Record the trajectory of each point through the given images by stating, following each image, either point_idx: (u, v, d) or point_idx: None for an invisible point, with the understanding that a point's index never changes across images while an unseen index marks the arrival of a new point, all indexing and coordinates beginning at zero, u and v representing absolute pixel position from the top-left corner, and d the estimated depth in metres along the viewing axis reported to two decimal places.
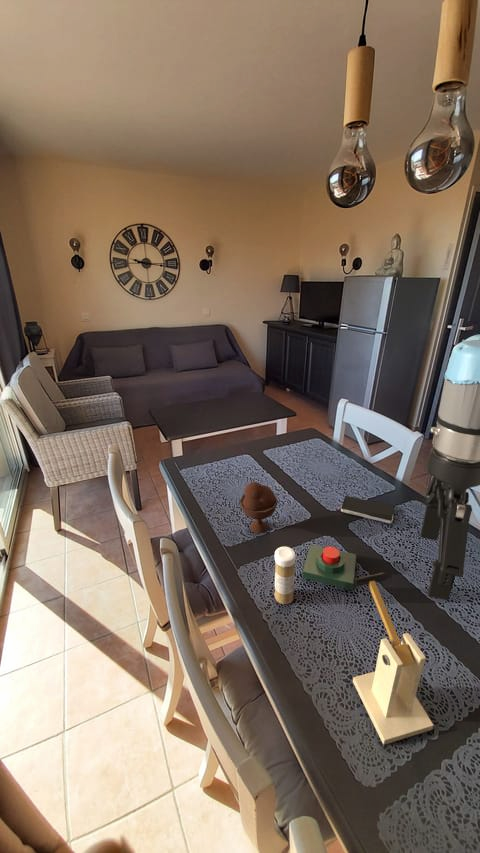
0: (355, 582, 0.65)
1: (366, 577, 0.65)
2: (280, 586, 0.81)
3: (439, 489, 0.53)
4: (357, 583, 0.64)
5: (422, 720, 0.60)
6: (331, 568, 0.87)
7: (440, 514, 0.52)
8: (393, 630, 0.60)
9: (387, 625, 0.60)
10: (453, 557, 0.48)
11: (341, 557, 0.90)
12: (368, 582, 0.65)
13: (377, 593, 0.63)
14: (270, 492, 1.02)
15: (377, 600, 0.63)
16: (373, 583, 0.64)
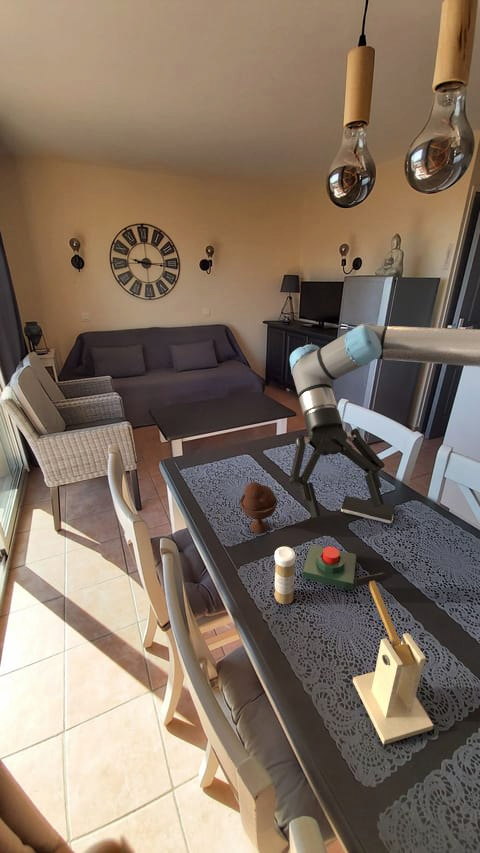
0: (355, 582, 0.65)
1: (366, 577, 0.65)
2: (280, 586, 0.81)
3: None
4: (357, 583, 0.64)
5: (422, 720, 0.60)
6: (331, 568, 0.87)
7: None
8: (393, 630, 0.60)
9: (387, 625, 0.60)
10: (292, 469, 0.72)
11: (341, 557, 0.90)
12: (368, 582, 0.65)
13: (377, 593, 0.63)
14: (270, 492, 1.02)
15: (377, 600, 0.63)
16: (373, 583, 0.64)
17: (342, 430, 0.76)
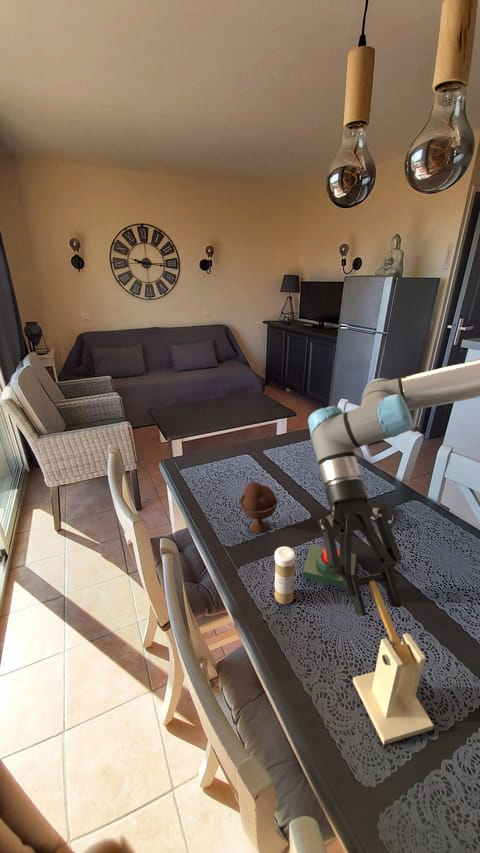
0: None
1: (366, 577, 0.65)
2: (280, 586, 0.81)
3: None
4: None
5: (422, 720, 0.60)
6: None
7: (339, 534, 0.69)
8: (393, 630, 0.60)
9: (387, 625, 0.60)
10: (329, 559, 0.66)
11: None
12: (368, 582, 0.65)
13: (377, 593, 0.63)
14: (270, 492, 1.02)
15: (377, 600, 0.63)
16: (373, 583, 0.64)
17: (367, 503, 0.69)
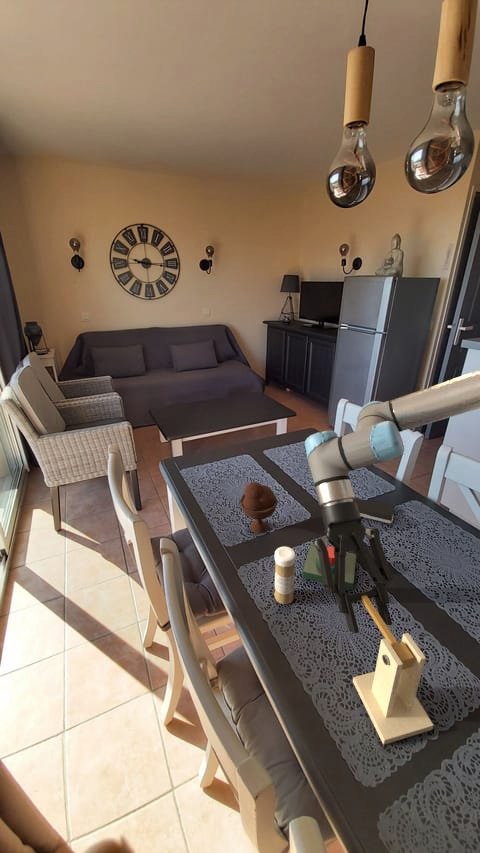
0: None
1: (358, 593, 0.69)
2: (280, 586, 0.81)
3: None
4: (350, 598, 0.68)
5: (422, 720, 0.60)
6: (331, 568, 0.87)
7: (334, 554, 0.73)
8: (389, 633, 0.61)
9: (383, 629, 0.62)
10: (324, 578, 0.69)
11: None
12: (360, 597, 0.68)
13: (370, 605, 0.66)
14: (270, 492, 1.02)
15: (371, 610, 0.65)
16: (365, 597, 0.68)
17: (360, 525, 0.73)
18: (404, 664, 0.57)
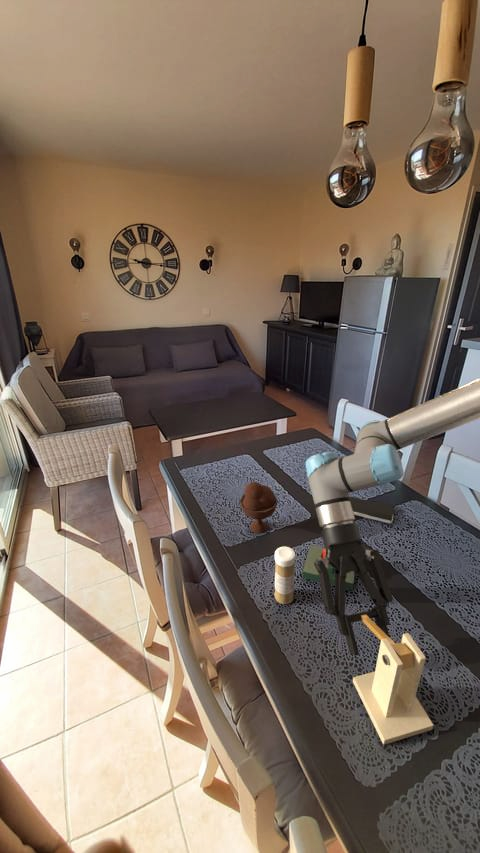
0: None
1: (357, 613, 0.70)
2: (280, 586, 0.81)
3: None
4: None
5: (422, 720, 0.60)
6: (331, 568, 0.87)
7: (334, 575, 0.74)
8: (389, 639, 0.62)
9: (382, 637, 0.62)
10: (325, 600, 0.70)
11: None
12: (360, 616, 0.69)
13: (369, 620, 0.67)
14: (270, 492, 1.02)
15: (370, 624, 0.66)
16: (364, 615, 0.69)
17: (360, 546, 0.74)
18: (404, 661, 0.57)
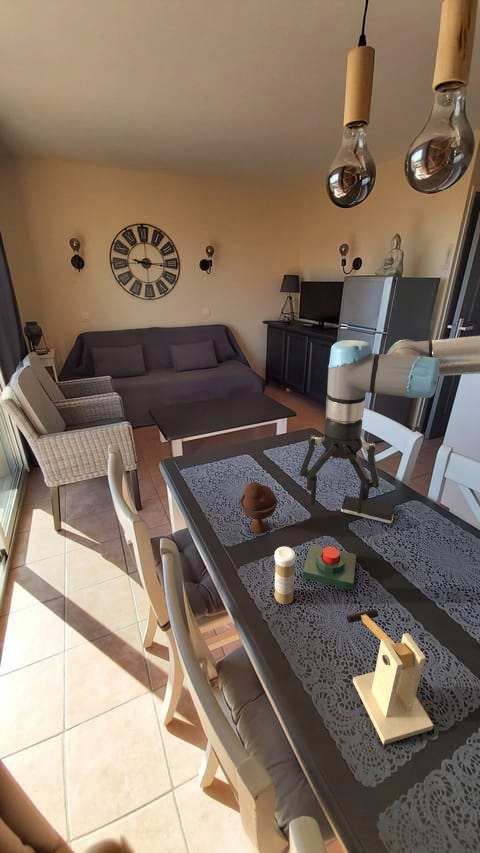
0: (348, 618, 0.69)
1: (357, 613, 0.70)
2: (280, 586, 0.81)
3: None
4: (349, 617, 0.69)
5: (422, 720, 0.60)
6: (331, 568, 0.87)
7: (325, 450, 0.81)
8: (389, 639, 0.62)
9: (382, 637, 0.62)
10: None
11: (341, 557, 0.90)
12: (360, 616, 0.69)
13: (369, 620, 0.67)
14: (270, 492, 1.02)
15: (370, 624, 0.66)
16: (364, 615, 0.69)
17: (357, 442, 0.75)
18: (404, 661, 0.57)
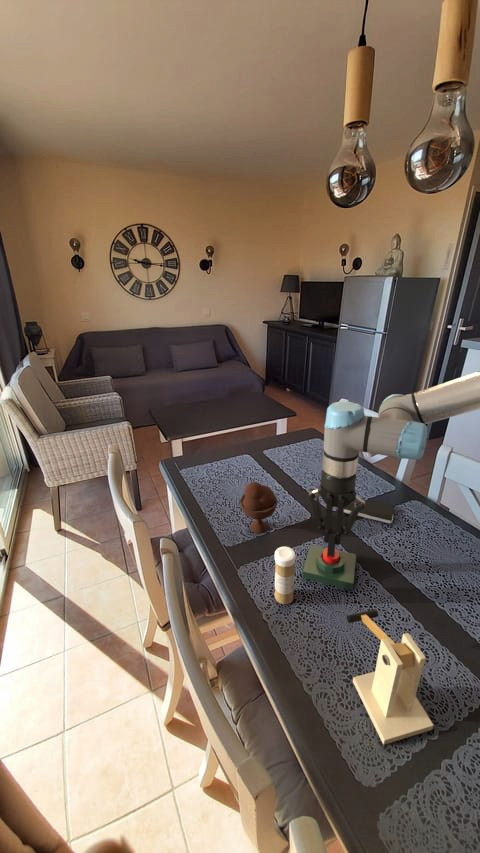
0: (348, 618, 0.69)
1: (357, 613, 0.70)
2: (280, 586, 0.81)
3: None
4: (349, 617, 0.69)
5: (422, 720, 0.60)
6: (331, 568, 0.87)
7: None
8: (389, 639, 0.62)
9: (382, 637, 0.62)
10: None
11: (341, 557, 0.90)
12: (360, 616, 0.69)
13: (369, 620, 0.67)
14: (270, 492, 1.02)
15: (370, 624, 0.66)
16: (364, 615, 0.69)
17: (351, 494, 0.80)
18: (404, 661, 0.57)
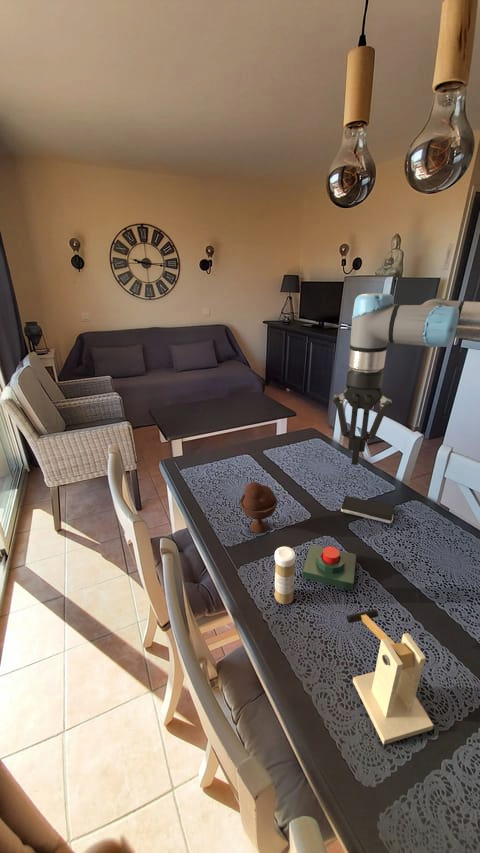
0: (348, 618, 0.69)
1: (357, 613, 0.70)
2: (280, 586, 0.81)
3: None
4: (349, 617, 0.69)
5: (422, 720, 0.60)
6: (331, 568, 0.87)
7: None
8: (389, 639, 0.62)
9: (382, 637, 0.62)
10: None
11: (341, 557, 0.90)
12: (360, 616, 0.69)
13: (369, 620, 0.67)
14: (270, 492, 1.02)
15: (370, 624, 0.66)
16: (364, 615, 0.69)
17: (378, 392, 0.79)
18: (404, 661, 0.57)
